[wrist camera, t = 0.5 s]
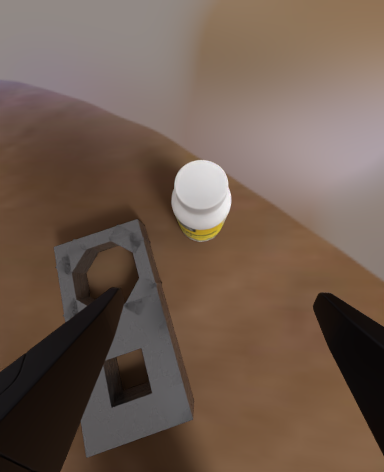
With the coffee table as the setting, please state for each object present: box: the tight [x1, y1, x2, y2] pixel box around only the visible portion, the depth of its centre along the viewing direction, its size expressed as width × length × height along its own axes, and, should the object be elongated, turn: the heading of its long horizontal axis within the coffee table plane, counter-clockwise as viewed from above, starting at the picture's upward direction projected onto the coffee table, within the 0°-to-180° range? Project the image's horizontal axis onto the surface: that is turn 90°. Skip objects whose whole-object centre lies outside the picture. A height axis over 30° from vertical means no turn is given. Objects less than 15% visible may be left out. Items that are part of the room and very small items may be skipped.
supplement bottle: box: [171, 160, 231, 242], centre depth 18 cm, size 5×5×10 cm
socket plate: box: [54, 219, 194, 458], centre depth 19 cm, size 20×10×2 cm, turn 19°
